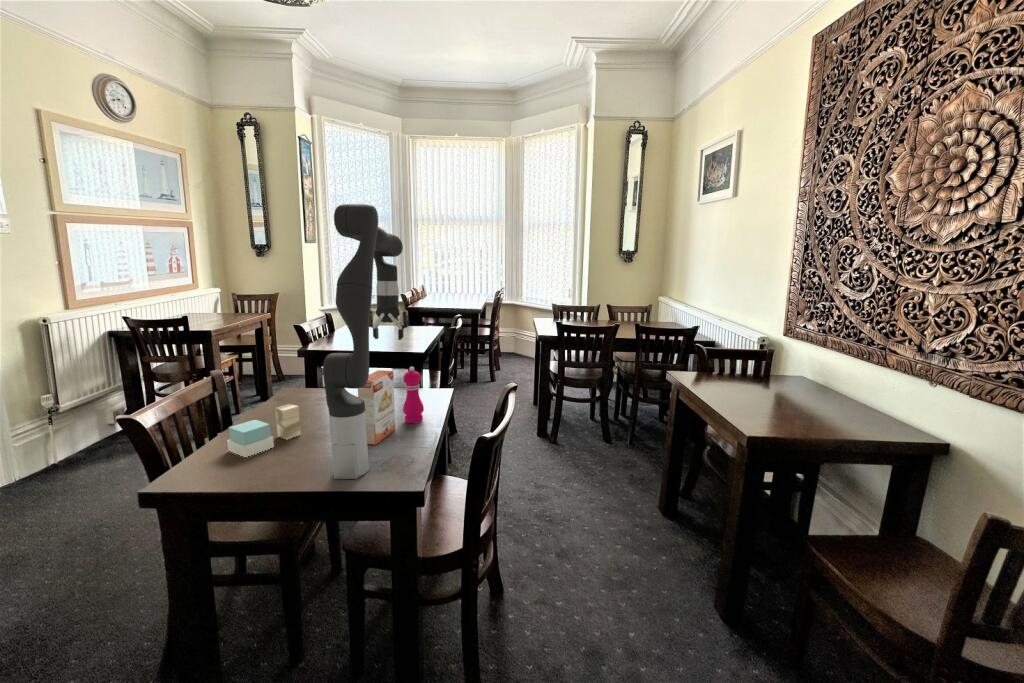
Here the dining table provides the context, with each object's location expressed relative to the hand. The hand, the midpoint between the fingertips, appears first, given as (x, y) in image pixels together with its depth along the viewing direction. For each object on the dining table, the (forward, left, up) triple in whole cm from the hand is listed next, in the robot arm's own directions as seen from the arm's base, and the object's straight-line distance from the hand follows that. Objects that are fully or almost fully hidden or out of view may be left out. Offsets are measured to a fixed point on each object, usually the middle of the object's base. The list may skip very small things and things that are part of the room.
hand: (388, 339), depth 168 cm
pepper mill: (-5, -9, -29) cm, 31 cm away
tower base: (-31, +35, -29) cm, 55 cm away
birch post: (-20, +29, -29) cm, 45 cm away
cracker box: (-20, -1, -29) cm, 35 cm away
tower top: (-31, +35, -25) cm, 53 cm away
